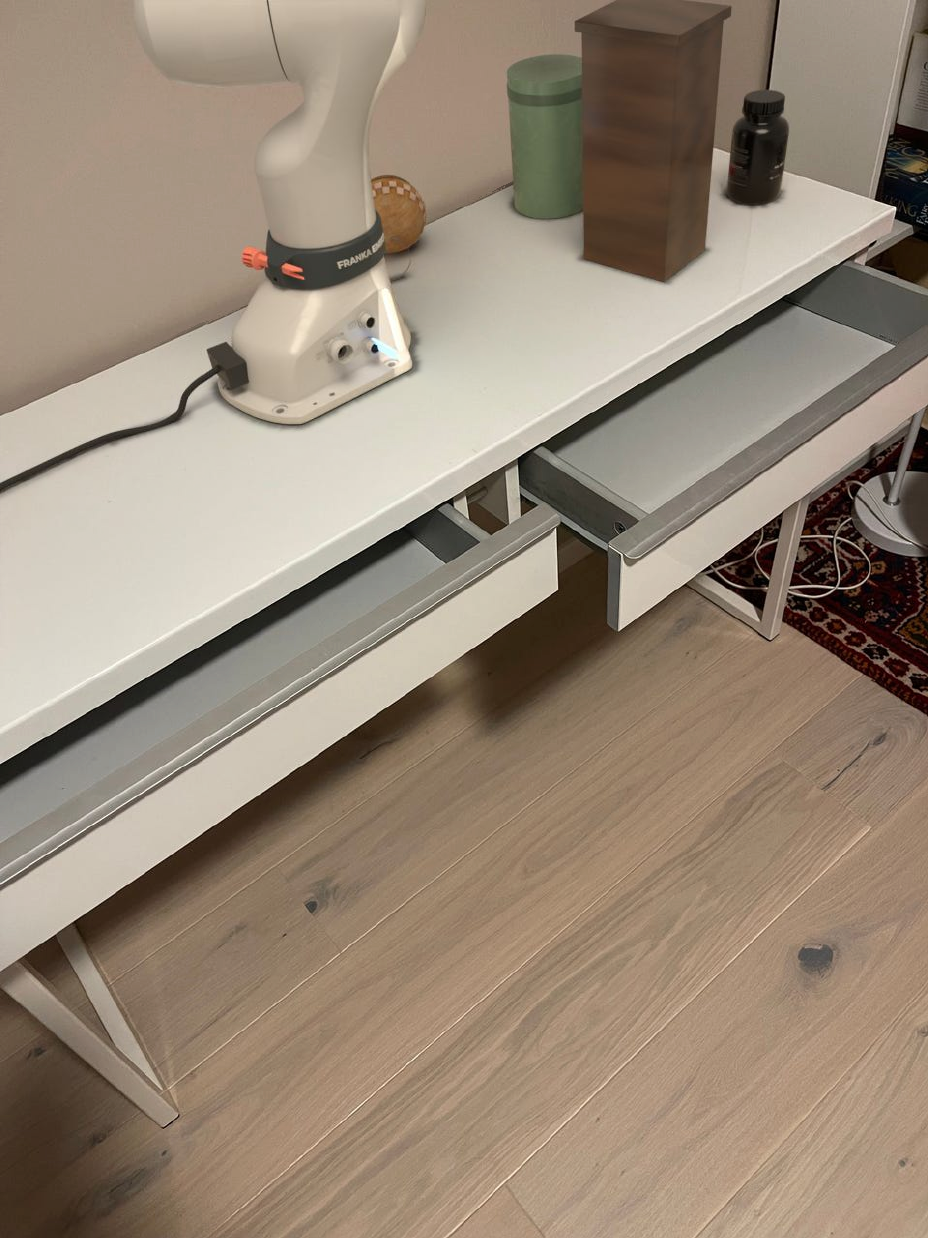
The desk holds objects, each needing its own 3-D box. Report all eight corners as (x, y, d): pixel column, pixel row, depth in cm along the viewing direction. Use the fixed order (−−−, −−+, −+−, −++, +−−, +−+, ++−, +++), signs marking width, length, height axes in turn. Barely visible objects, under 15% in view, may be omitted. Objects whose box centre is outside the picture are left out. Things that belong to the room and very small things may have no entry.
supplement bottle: (785, 204, 127) (799, 103, 118) (730, 208, 127) (740, 108, 118) (774, 181, 131) (787, 83, 123) (722, 185, 132) (731, 88, 123)
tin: (559, 225, 128) (556, 88, 117) (498, 208, 133) (488, 75, 122) (605, 194, 133) (606, 60, 122) (544, 180, 138) (539, 49, 127)
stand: (665, 285, 115) (679, 35, 97) (577, 259, 122) (574, 20, 103) (711, 249, 120) (732, 5, 102) (623, 226, 126) (628, -8, 108)
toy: (445, 282, 122) (432, 204, 130) (417, 222, 115) (405, 143, 122) (375, 308, 124) (367, 230, 132) (343, 251, 117) (336, 172, 124)
